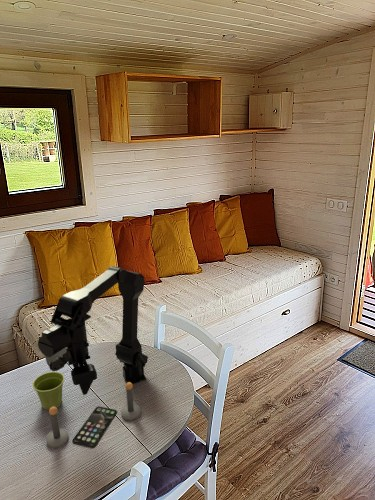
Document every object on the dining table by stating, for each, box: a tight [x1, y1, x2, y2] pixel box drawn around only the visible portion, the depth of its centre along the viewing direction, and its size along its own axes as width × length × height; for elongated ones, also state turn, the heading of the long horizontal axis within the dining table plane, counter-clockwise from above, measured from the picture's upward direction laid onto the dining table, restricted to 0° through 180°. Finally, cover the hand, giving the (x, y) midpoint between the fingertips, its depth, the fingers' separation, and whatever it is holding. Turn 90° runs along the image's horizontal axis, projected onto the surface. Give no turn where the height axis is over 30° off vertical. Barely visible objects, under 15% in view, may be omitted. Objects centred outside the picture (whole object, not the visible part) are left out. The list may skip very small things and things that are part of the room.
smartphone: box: [72, 405, 118, 449], centre depth 113 cm, size 7×1×15 cm
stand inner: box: [120, 382, 142, 421], centre depth 116 cm, size 6×6×11 cm
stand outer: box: [45, 407, 69, 449], centre depth 106 cm, size 6×6×11 cm
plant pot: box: [32, 371, 65, 411], centre depth 120 cm, size 9×9×9 cm
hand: (81, 384), depth 110 cm, fingers open, 9 cm apart
